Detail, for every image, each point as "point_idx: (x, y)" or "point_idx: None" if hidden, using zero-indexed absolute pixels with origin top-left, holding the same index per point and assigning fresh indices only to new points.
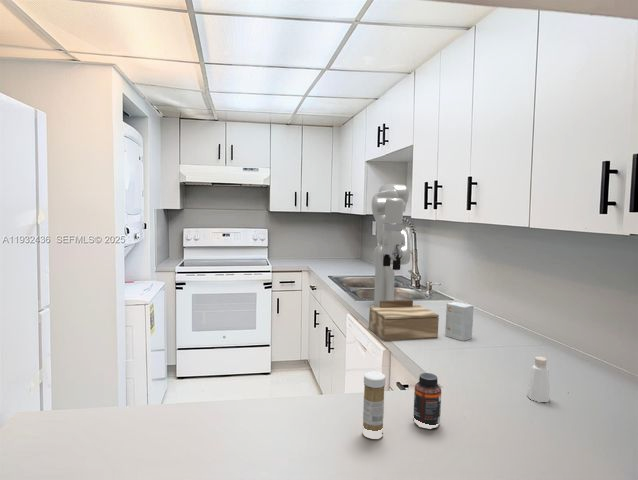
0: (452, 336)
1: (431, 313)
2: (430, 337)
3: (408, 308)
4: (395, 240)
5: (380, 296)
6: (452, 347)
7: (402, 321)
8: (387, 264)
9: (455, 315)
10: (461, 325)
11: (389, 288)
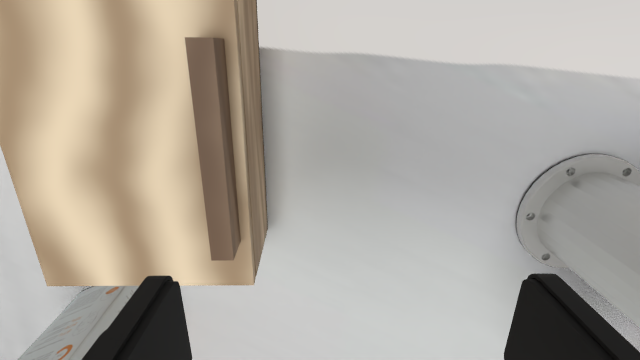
0: None
1: (75, 267)
2: None
3: (180, 202)
4: None
5: (604, 211)
6: (6, 227)
7: None
8: (527, 345)
9: (50, 346)
10: (50, 328)
11: (615, 283)
